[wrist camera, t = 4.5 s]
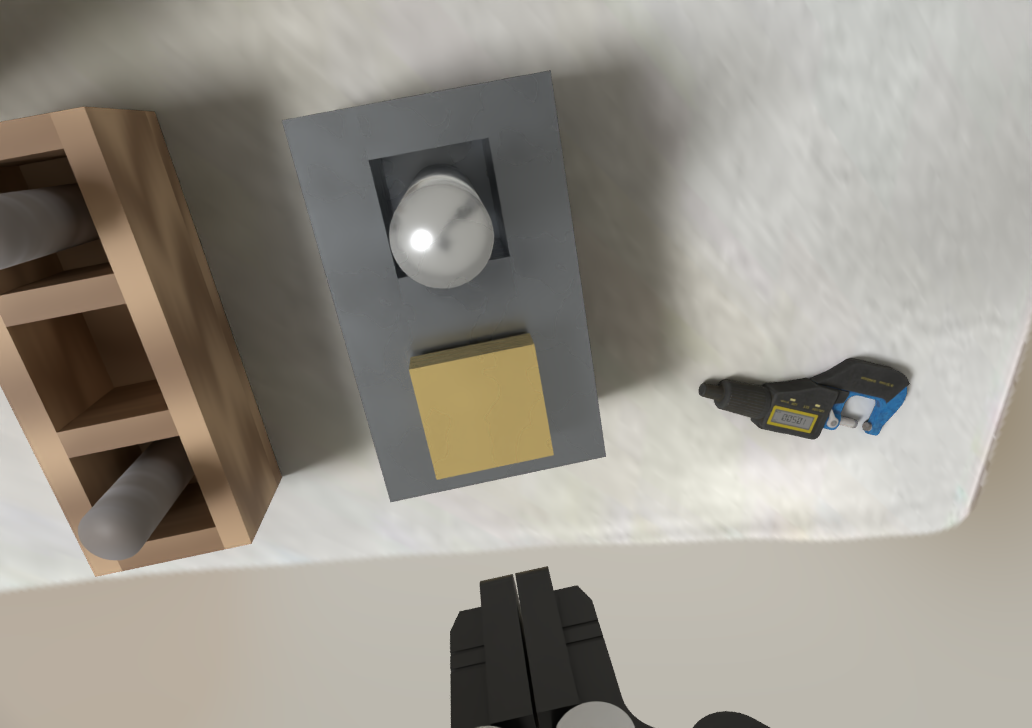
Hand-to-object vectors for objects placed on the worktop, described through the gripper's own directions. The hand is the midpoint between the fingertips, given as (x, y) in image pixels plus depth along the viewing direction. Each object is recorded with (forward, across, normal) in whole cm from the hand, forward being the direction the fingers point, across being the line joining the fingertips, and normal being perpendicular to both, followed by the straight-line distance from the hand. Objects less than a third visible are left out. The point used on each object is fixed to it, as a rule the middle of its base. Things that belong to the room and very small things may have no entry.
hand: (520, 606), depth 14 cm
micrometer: (+22, -17, +8) cm, 28 cm away
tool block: (+21, 0, -3) cm, 21 cm away
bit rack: (+21, +15, -3) cm, 26 cm away
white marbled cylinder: (+20, 0, -7) cm, 21 cm away
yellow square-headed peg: (+19, 0, +1) cm, 19 cm away
